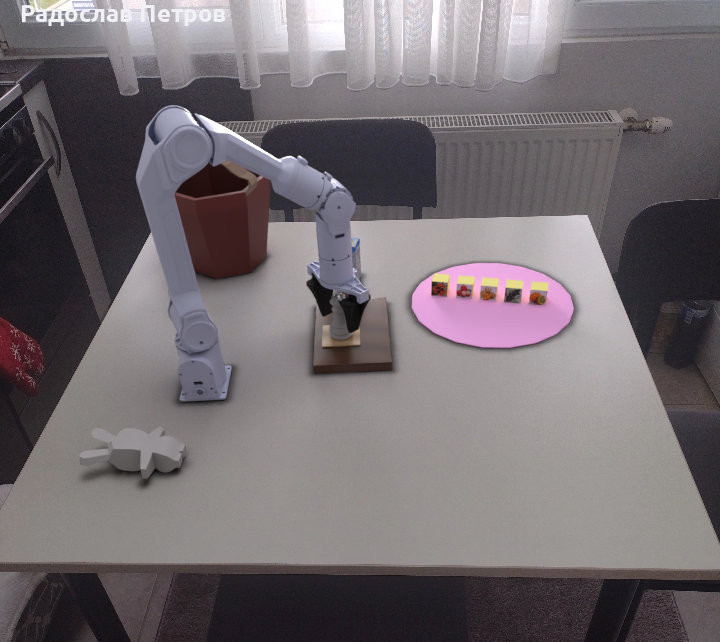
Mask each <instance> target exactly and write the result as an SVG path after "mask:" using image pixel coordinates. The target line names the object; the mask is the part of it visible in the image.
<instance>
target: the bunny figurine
mask: <svg viewBox="0 0 720 642" xmlns="http://www.w3.org/2000/svg"><path fill="white" fill-rule="evenodd" d="M91 436H92V438H94V439H95V440H98V441H101V442H104V443H106V444H108V446H107V448H97V449H88V450H83V451H82V452H80V453H79V464H80V465H81V466H82V467H89V466H93V465H97V464H100V463H105V462H108V461H109V463H110V464H112V465H113V466H115V468H116V469H118V470H121V471H126V472H127V471H128V472H139V471H140V475H141V477H142V479H143V480H145V479H146V480H147V479H149V478H150V476H151V475H152V473H153V472H154V470H157V471H159V472H160V473H169V472H172V471H174V469H176V468H177V469H180V468H181V466H182V463H183V459H184V458H185V456H186V454H187V445H186V443H183V442H181V441H180V440H179V439H177V438H176V437H174V436H172V435H166V431H165V428H164V427H161V426H158V427H156V428H155V429H154V430H153V431H151V432H150V433H147V432H145V431H144V430H142V429H138V428H132V427H124V428H122V430H120V431H119V432H118V433H117V434H116V435H114V434H113V433H111V432H109V431H107V430H106V429H104V428H101V427H96V428H94V429H93V430H92V432H91Z"/></svg>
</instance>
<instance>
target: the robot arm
mask: <svg viewBox="0 0 720 642" xmlns="http://www.w3.org/2000/svg"><path fill="white" fill-rule="evenodd" d="M194 116H195V117H196V119H197V121H196V119H195V118H194ZM194 116H193V114H192V113H191V112H190V111H189V110H188V109H186V108H184V107H183V106H180V105H173V104H172V105H167V106H164V107H162V108H161V109H159V111H157V113H156V114H155V115H154V116H153V118H152V119H151V120H150V121H149V123H148V124H147V125H146V127H145V138H144V143H143V147H142V150H141V155H140V158H139V162H138V165H137V170H136V175H135V182H136V186H137V189H138V192H139V196H140V199H141V202H142V206H143V209H144V212H145V216H146V219H147V222H148V226H149V230H150V233H151V236H152V239H153V242H154V246H155V249H156V253H157V256H158V260H159V263H160V266H161V269H162V273H163V277H164V280H165V283H166V287H167V295H168V298H169V299H168V300H169V302H168V305H167V315H168V317H169V319H170V320H171V322H172V324H173V326H174V329H175V331H176V333H175V337H174V344H175V347H176V351H177V354H178V359H179V363H178V366H177V367H178V368H177V375H178V378H179V382H180V385H181V391H180V396H179V402H198V401H199V402H200V401H222V400H223V401H224V400H226V399H227V395H228V390H229V384H230V381H231V374H232V369H233V368H232V365H230V364H228V365H225V361H224V356H223V351H222V346H221V343H220V337H219V329H218V326H217V324H216V323H215V322H214V321H213V319H212V317H211V315H210V313H209V311H208V310H207V307H206V304H205V301H204V299H203V295H202V294H201V290H200V287H199V283H198V280H197V275H196V271H194V268H193V264H192V260H191V256H190V252H189V249H188V245H187V241H186V237H185V233H184V229H183V226H182V222H181V218H180V214H179V210H178V207H177V203H176V199H175V192H176V190H177V189H178V188H179V187H180V185H181V184H182V183H183V182H184V181H185V180H187V179H188V178H190V177H191V176H193V175H194V174H196V173H197V172H199V171H200V170H201V169H203V168H204V167H205V166H206V165H207V164H208V162H210V163H211V165H212V166H217V165H219V164H221V163H223V162H225V161H231V162H233V163H235V164H237V165H239V166H241V167H243V168H246V169H248V170H250V171H252V172H254V173H256V174H258V175H260V176H263V177H265V178H267V179H269V180H270V184H271V187H272V189H273V191H274V193H276V194H277V195H280V196H281V197H283V198H286V199H287V200H289V201H290V202H293V203H295V204H297V205H299V206H301V207H303V208H305V209H307V210H309V211H315V213H314V215H315V231H316V244H317V255H318V261H317V260H314V261H312V262H309V263H306V268H307V275H309V276H311V278H309V279H307V280H306V283H305V285H306V287H307V289H308V290H310V292H311V294H312V295H313V298H314V299H315V303H316V302H317V304H318V307H319V310H320V312H321V315H322V316H323V317H325V316H327V315H329V314H331V313H332V307H333V306H332V305H331V304H330V300H331V299H332V295H334V291H336V292H339V293H340V292H344V293H348V297H346V298H344V299H342V300H340V301H339V304H340V305H341V307H342V309H343V311H344V314H345V318H346V325H347V330H348V332H349V333H353V332H354V331H356V330H358V329H359V326H360V322H361V318H362V315H363V312H364V309H365V307H366V305H367V304H368V302H369V301H370V299H371V298H372V297H371V294H370V292H369V291H370V290H369V289H368V288H367V287H365V286H364V285H363V284H362V282H361V281H360V279H359V280H358V279H357V277H356V276H355V275H356V274H357V270H356V269H354V268H353V263H352V243H351V238H352V227H351V219H352V217H353V215H354V214H355V211H356V206H357V203H356V202H355V201H354V199H353V195H352V193H351V192H350V191H349V190H348V189H347V188H346V187H345V186H344V185H343V184H342V183H341V182H340V181H338V180H337V179H336V178H334V177H333V175H332V174H330V173H328V172H327V171H324V172H323V173H322V172H320V171H319V170H317V169H315V168H313V167H311V166H310V165H308V164H309V161H307V159H306V158H304V157H302V156H301V155H298V156H297V157H294V156H292V155H287V156H284V157H281V158H278V157H275V156H274V155H272V154H271V153H268V152H267V151H265V150H263V149H262V148H260V147H259V146H257V145H255V144H253V143H252V142H250V141H249V140H246V139H245V138H243V137H242V136H240V135H239V134H237V133H235V132H233V131H232V130H230V129H228V128H227V127H225V126H223V125H221V124H220V123H217V122H216V121H214V120H211V119H209V118H207V117H205V116H203V115H201V114H198V113H194Z"/></svg>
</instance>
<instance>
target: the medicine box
mask: <svg viewBox="0 0 720 642" xmlns="http://www.w3.org/2000/svg"><path fill="white" fill-rule="evenodd" d="M351 243H352V263H353V268H354V269H356V270H357V274H356V275H355V276H356V277H357V279H358V280H359V281H360V279H361V276H362V266H361V265H362V264H361V240H360V238H355V237H351Z"/></svg>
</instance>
